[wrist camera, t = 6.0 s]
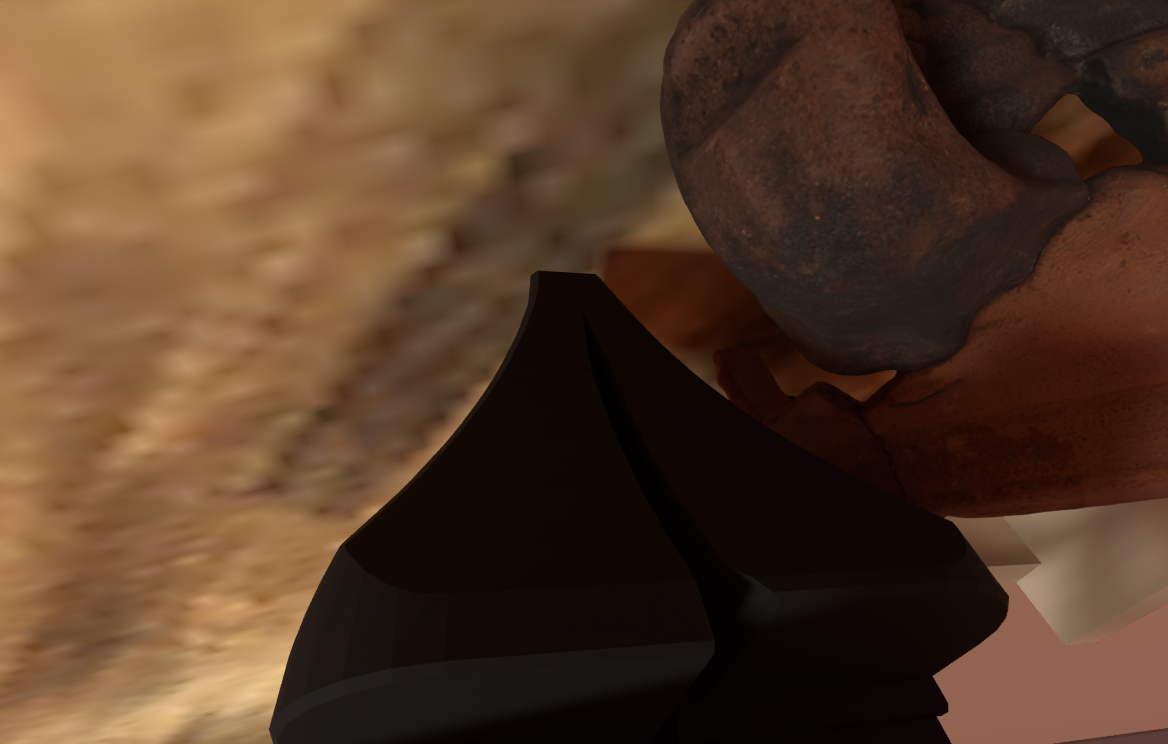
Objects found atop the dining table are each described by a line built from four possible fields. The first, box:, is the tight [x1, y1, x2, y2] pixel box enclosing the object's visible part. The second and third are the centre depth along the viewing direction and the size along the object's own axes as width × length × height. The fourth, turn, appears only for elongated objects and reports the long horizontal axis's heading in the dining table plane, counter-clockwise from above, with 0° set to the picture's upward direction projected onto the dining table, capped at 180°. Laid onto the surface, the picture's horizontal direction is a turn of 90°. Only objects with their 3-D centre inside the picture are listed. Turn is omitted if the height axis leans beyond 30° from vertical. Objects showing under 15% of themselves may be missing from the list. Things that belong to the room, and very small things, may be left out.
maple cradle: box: [945, 498, 1168, 645], centre depth 11 cm, size 17×16×5 cm
